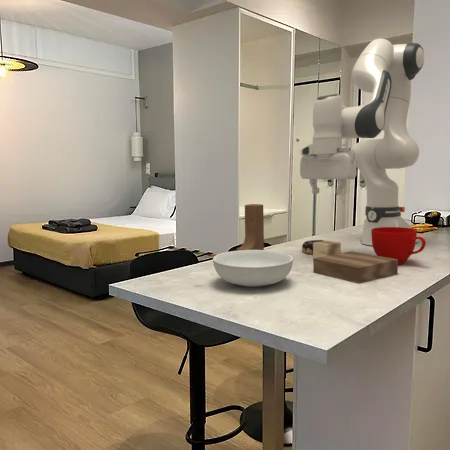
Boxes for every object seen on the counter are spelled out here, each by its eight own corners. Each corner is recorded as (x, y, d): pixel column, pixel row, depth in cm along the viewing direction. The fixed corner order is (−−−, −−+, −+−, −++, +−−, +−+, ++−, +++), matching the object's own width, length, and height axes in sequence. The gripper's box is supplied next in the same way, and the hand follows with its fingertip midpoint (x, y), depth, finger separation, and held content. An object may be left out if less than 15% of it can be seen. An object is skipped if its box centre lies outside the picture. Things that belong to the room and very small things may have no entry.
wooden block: (247, 264, 140) (246, 206, 138) (236, 262, 143) (235, 206, 141) (264, 259, 147) (263, 204, 144) (253, 257, 150) (252, 203, 147)
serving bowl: (207, 293, 109) (206, 265, 108) (219, 273, 130) (219, 249, 129) (293, 294, 106) (293, 266, 105) (292, 273, 127) (292, 249, 126)
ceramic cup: (410, 271, 126) (411, 235, 125) (361, 261, 140) (362, 229, 139) (437, 264, 133) (438, 231, 132) (388, 256, 147) (389, 225, 146)
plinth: (351, 264, 136) (351, 251, 136) (397, 273, 123) (397, 259, 123) (313, 272, 127) (313, 258, 127) (358, 283, 114) (359, 268, 114)
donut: (295, 253, 157) (295, 241, 157) (317, 248, 165) (317, 237, 164) (320, 257, 149) (320, 245, 148) (342, 252, 156) (342, 241, 155)
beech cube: (326, 258, 146) (326, 240, 145) (340, 261, 141) (340, 242, 140) (313, 261, 143) (313, 242, 142) (327, 264, 138) (327, 244, 137)
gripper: (361, 147, 130) (360, 194, 132) (311, 150, 147) (310, 192, 149) (347, 146, 127) (346, 195, 129) (296, 150, 144) (296, 193, 145)
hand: (326, 194), depth 139 cm, fingers open, 8 cm apart
